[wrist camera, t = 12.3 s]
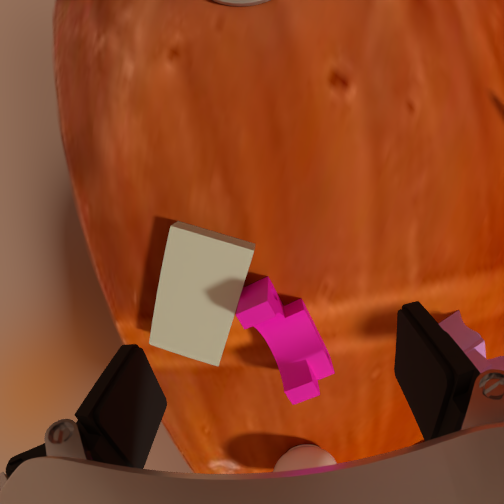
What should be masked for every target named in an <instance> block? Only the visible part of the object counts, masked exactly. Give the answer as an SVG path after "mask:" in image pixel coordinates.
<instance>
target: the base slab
mask: <svg viewBox="0 0 504 504" xmlns="http://www.w3.org/2000/svg"><path fill="white" fill-rule="evenodd" d="M254 249H255V244H254V243H251V242H247V241H244V240H241V239H237V238H234V237H231V236H227V235H224V234H220V233H217V232H214V231H210V230H207V229H204V228H200V227H197V226H193V225H190V224H187V223H183V222H180V221H177V222H176V223H174V224H172V225H171V226H170V230H169V235H168V239H167V244H166V249H165V254H164V259H163V264H162V269H161V274H160V279H159V285H158V290H157V296H156V302H155V308H154V314H153V320H152V327H151V334H150V341H149V344H151V345H153V346H156V347H159V348H162V349H165V350H168V351H171V352H174V353H177V354H180V355H183V356H186V357H189V358H192V359H195V360H198V361H202V362H205V363H208V364H212V365H215V366H219V363H220V360H221V356H222V353H223V350H224V347H225V344H226V340H227V337H228V334H229V331H230V327H231V324H232V321H233V318H234V314H235V311H236V308H237V305H238V301H239V298H240V295H241V292H242V289H243V285H244V282H245V279H246V276H247V272H248V269H249V266H250V263H251V259H252V256H253V253H254Z"/></svg>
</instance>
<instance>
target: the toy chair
mask: <svg viewBox="0 0 504 504" xmlns="http://www.w3.org/2000/svg"><path fill="white" fill-rule="evenodd" d="M439 325H440V326H441V328H442V329H443V330H444V331H446V332H447V333H448V334H449V335H450V336H451V337H452V338H453V340H454V341H455V342H456V343H457V344H458V346H459V347H460V348H461V349H462V350H463V352H464V353H465V354H466V355H467V357H468V358H469V359H470V360H471V362H472V363H473V364H474V365H475V367H476V368H477V369H478V371H479V372H480V373H482V372H484V371H487V370H491V369H499V370H503V371H504V356H500V357H496V358H494V359H488V360H487V359H486V354H485V341H484V340H483V339H482V338H481V336H480V334H479V333H477V332H475V331H473V330H471V329H469V328H468V327H467V326H466V325H465V324H464V323H463V321H462V318H461V315H460V311H459V310H458V311H456V312H455V313H454V314H452V315H451V316H449V317H448V318H446V319H445V320H443V321H442V322H440V323H439Z"/></svg>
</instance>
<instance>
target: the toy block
mask: <svg viewBox="0 0 504 504" xmlns="http://www.w3.org/2000/svg"><path fill="white" fill-rule="evenodd" d="M236 316H237V318H238V319H239V321H240V323H241V324H242V326H243V327H244V329H247V328H249V327H252V326H253V327H255V328H256V329H257V330H258V331H259V332H260V333H261V335H262V336H263V337H264V339H265V340H266V342H267V344H268V346H269V347H270V349H271V351H272V353H273V355H274V358H275V360H276V362H277V365H278V368H279V371H280V374H281V377H282V381H283V386H284V392H285V394H286V395H287V397H288V398H289V400H290V401H291V403H292V404H293V405H294V404H297V403H299V402H302V401H305V400H308V399H310V398H313V397H316V396H318V395H320V391H319V386H318V381H317V380H319V379H322V378H324V377H327V376H329V375H332V374H334V373H335V372H334V369H333V365H332V361H331V358H330V355H329V353H328V351H327V349H326V346H325V344H324V342H323V340H322V338H321V336H320V334H319V332H318V330H317V328H316V326H315V324H314V322H313V320H312V318H311V316H310V314H309V312H308V310H307V308H306V306H305V304H304V302H303V300H302V298H301V299H299V300H296V301H294V302H292V303H290V304H288V305H285V306H284V305H283V303H282V301H281V299H280V297H279V296H278V294H277V292H276V290H275V288H274V286H273V284H272V283H271V281H270V279H269V277H265V278H263V279H261V280H259V281H257V282H255V283H253V284H250V285H248V286H246V287H244V288H243V289H242V292H241V295H240V299H239V303H238V307H237V312H236Z"/></svg>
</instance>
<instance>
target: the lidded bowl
mask: <svg viewBox="0 0 504 504" xmlns="http://www.w3.org/2000/svg"><path fill="white" fill-rule="evenodd" d="M334 464H337V463H336V461H335V459H334V458H333V456H332V455H331V454H330V453H328V452H327V451H326V450H324V449H321V448H320V447H319V446H316V445H312V444H303V445H298V446H295V447H293V448H291V449H289V450H288V451H287V452H286V453H285V454H284V455H283V456H281V458H280V459H279V460H278V461H277V463H276V465H275V467H274V470H273V472H281V471H291V470H299V469H307V468H315V467H321V466H328V465H334Z"/></svg>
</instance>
